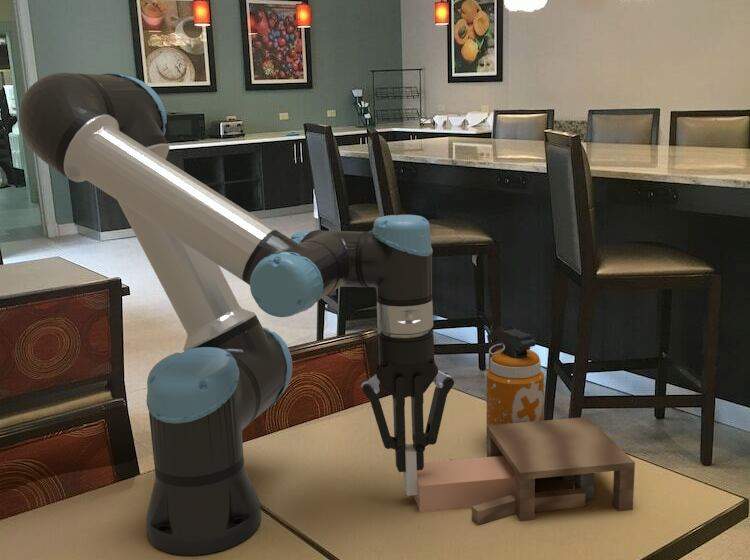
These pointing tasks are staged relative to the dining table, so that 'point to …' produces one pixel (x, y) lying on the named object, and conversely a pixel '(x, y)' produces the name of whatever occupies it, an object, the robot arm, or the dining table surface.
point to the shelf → (555, 466)
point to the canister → (513, 379)
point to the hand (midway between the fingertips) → (410, 490)
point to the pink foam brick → (463, 483)
